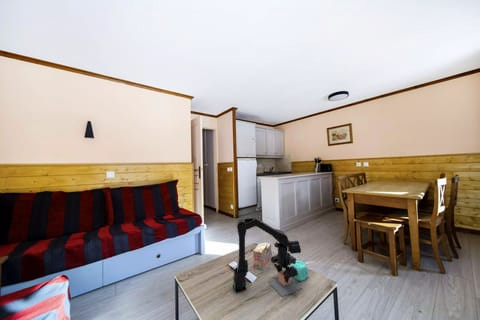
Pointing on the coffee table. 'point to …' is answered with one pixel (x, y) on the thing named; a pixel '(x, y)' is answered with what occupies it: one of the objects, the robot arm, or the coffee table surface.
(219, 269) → the coffee table surface
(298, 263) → the decorative dice
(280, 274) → the terracotta cube
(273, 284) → the slate mat
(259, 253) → the stack of blocks
